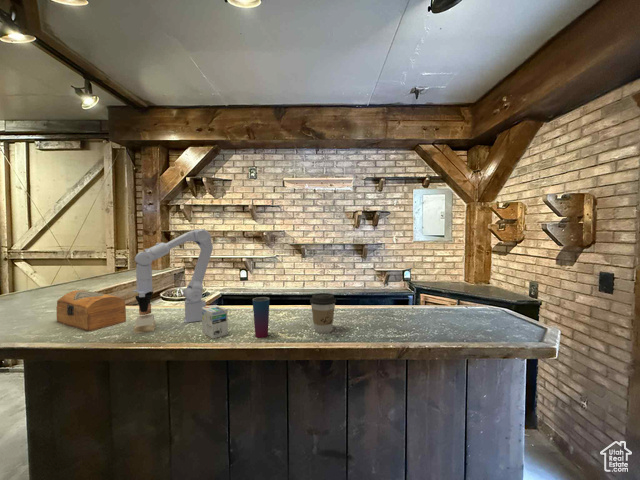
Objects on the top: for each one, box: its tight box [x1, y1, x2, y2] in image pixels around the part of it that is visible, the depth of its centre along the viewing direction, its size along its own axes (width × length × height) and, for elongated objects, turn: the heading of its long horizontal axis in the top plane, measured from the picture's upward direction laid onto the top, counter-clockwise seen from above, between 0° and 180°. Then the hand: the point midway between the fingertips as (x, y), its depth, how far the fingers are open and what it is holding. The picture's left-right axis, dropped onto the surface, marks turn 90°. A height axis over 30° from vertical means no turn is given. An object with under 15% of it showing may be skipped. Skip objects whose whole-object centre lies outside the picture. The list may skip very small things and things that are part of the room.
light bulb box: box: [201, 304, 229, 340], centre depth 112 cm, size 11×7×11 cm, turn 45°
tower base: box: [133, 319, 156, 334], centre depth 117 cm, size 7×7×3 cm
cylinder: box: [138, 302, 152, 316], centre depth 117 cm, size 4×4×4 cm
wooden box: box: [56, 289, 127, 332], centre depth 128 cm, size 30×16×14 cm, turn 62°
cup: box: [252, 296, 271, 339], centre depth 109 cm, size 7×7×15 cm
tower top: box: [135, 313, 155, 327], centre depth 117 cm, size 6×6×3 cm
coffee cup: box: [309, 292, 337, 334], centre depth 114 cm, size 11×11×15 cm
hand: (145, 310), depth 117 cm, fingers closed on cylinder, 4 cm apart
